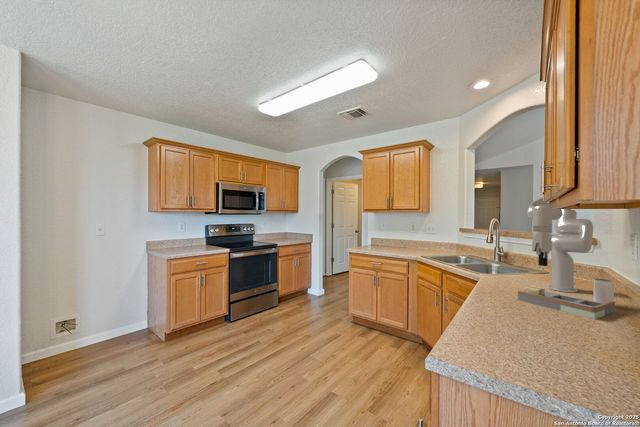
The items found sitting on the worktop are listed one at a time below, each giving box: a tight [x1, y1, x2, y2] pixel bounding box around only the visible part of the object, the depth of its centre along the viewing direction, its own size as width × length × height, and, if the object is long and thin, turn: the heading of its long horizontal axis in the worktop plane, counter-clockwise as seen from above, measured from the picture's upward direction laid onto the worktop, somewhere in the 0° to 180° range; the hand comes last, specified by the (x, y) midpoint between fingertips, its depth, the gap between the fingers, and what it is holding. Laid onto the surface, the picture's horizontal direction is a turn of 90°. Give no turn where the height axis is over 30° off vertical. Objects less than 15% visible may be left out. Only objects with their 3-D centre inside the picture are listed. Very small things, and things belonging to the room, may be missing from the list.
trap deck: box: [517, 290, 616, 320], centre depth 124 cm, size 20×28×4 cm
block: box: [523, 285, 546, 296], centre depth 130 cm, size 6×6×4 cm
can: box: [592, 278, 615, 304], centre depth 124 cm, size 6×6×12 cm
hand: (542, 265), depth 134 cm, fingers closed
